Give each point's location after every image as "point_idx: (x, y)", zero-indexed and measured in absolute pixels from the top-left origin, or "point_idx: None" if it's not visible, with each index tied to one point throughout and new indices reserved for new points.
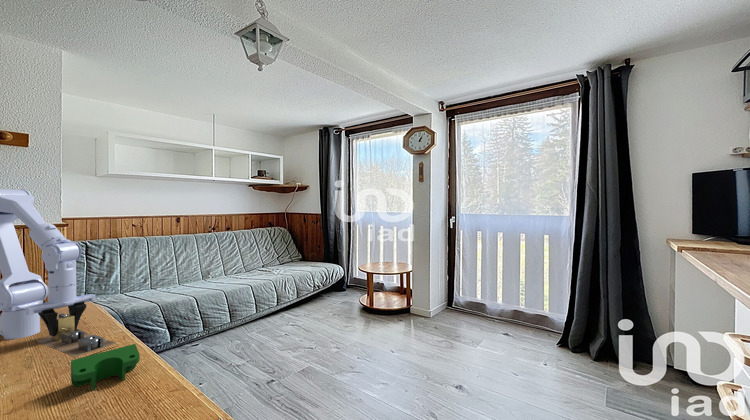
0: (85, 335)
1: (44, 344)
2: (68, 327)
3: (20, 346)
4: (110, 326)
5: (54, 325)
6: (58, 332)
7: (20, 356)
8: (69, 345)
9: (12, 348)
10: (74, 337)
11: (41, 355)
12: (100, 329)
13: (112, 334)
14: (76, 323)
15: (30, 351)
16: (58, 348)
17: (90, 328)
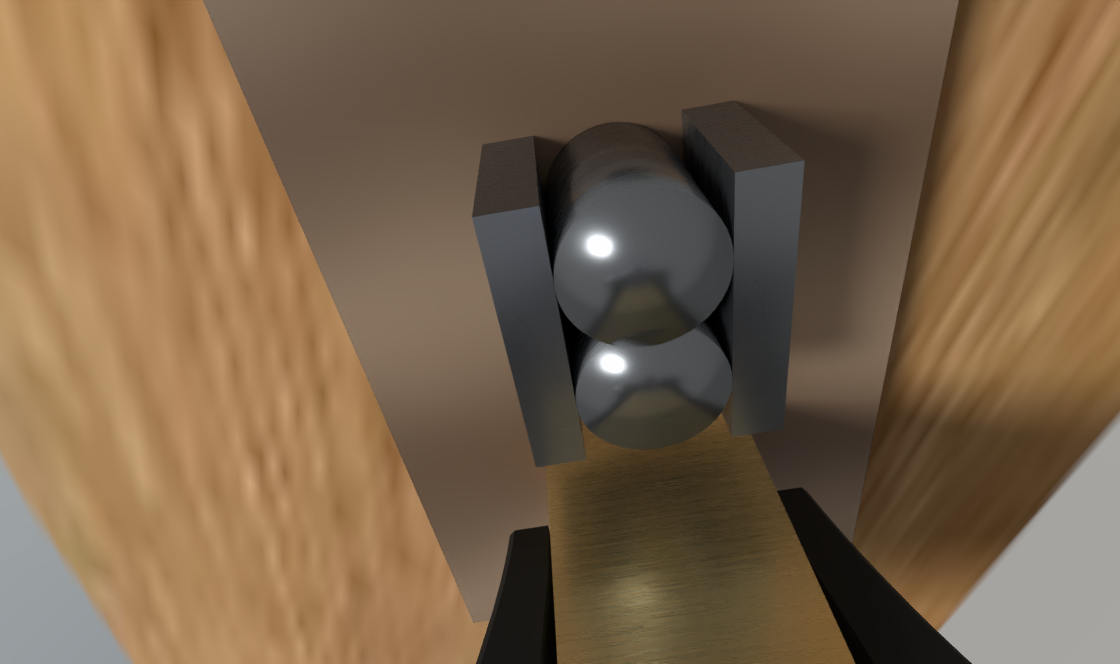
0: (425, 355)
1: (877, 397)
2: (645, 561)
3: (905, 567)
4: (132, 550)
5: (894, 650)
6: (779, 503)
7: (1113, 288)
8: (744, 10)
9: (958, 563)
10: (650, 155)
11: (1039, 86)
12: (244, 530)
13: (46, 204)
14: (515, 626)
15: (968, 374)
16: (914, 6)
17: (342, 616)
